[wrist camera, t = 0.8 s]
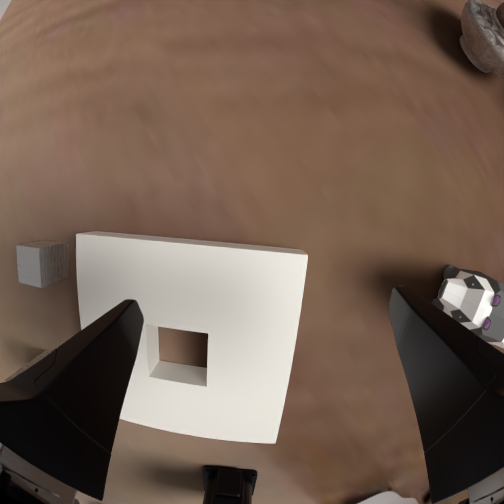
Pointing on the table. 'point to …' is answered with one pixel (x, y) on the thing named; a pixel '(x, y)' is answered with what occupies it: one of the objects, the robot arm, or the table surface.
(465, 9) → the pottery
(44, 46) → the table surface
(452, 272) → the giant panda
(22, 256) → the short pin
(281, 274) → the hole block
